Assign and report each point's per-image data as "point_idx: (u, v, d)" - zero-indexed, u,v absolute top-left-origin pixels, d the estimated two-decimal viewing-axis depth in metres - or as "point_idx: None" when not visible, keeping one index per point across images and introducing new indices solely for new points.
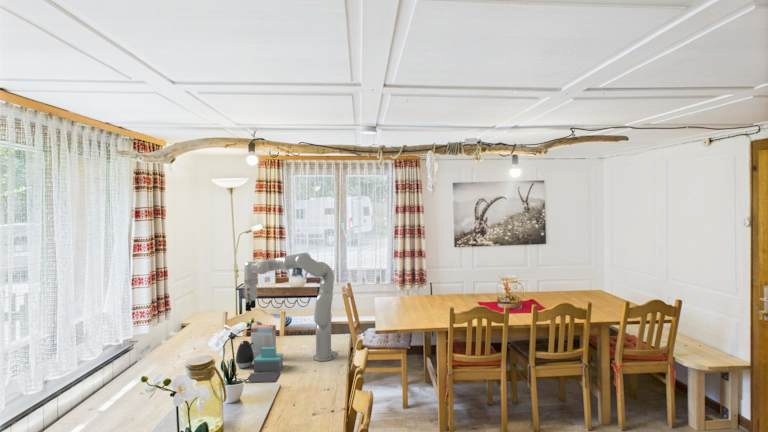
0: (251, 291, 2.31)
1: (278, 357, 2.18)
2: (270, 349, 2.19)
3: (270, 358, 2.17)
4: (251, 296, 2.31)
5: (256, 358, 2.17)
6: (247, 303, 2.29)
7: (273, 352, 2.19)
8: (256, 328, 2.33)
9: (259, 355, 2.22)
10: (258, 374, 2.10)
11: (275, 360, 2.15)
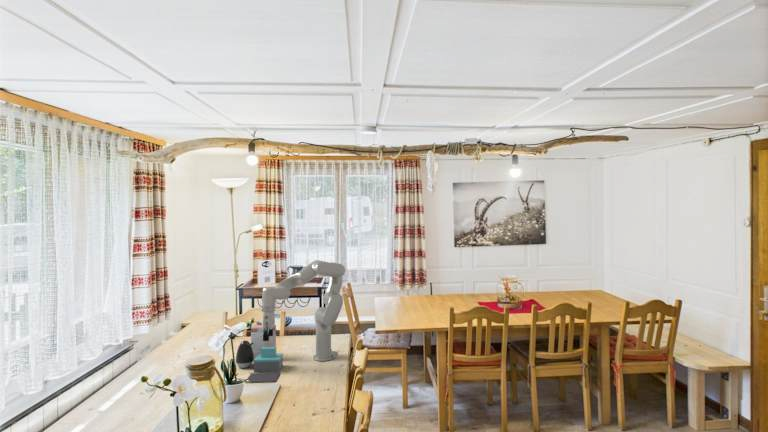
0: (269, 319, 2.15)
1: (278, 357, 2.18)
2: (270, 349, 2.19)
3: (270, 358, 2.17)
4: (269, 325, 2.15)
5: (256, 358, 2.17)
6: (265, 332, 2.13)
7: (273, 352, 2.19)
8: (256, 328, 2.33)
9: (259, 355, 2.22)
10: (258, 374, 2.10)
11: (275, 360, 2.15)
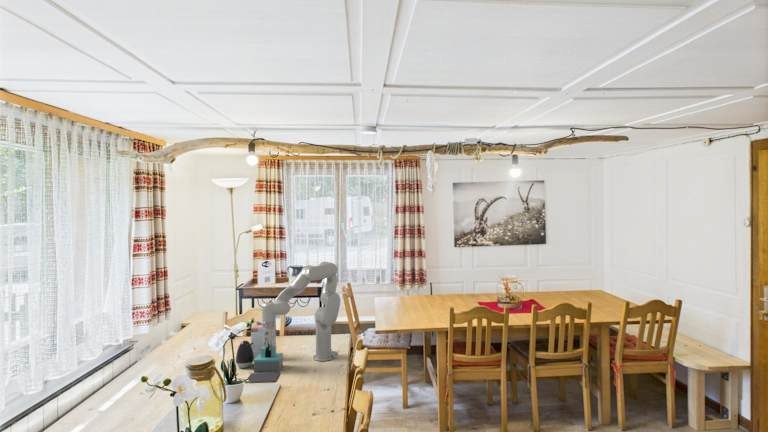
0: (270, 335, 2.15)
1: (278, 357, 2.18)
2: (270, 349, 2.19)
3: (270, 357, 2.17)
4: (270, 341, 2.15)
5: (256, 358, 2.17)
6: (267, 349, 2.16)
7: (273, 352, 2.19)
8: (256, 328, 2.33)
9: (258, 355, 2.22)
10: (258, 374, 2.10)
11: (275, 360, 2.15)
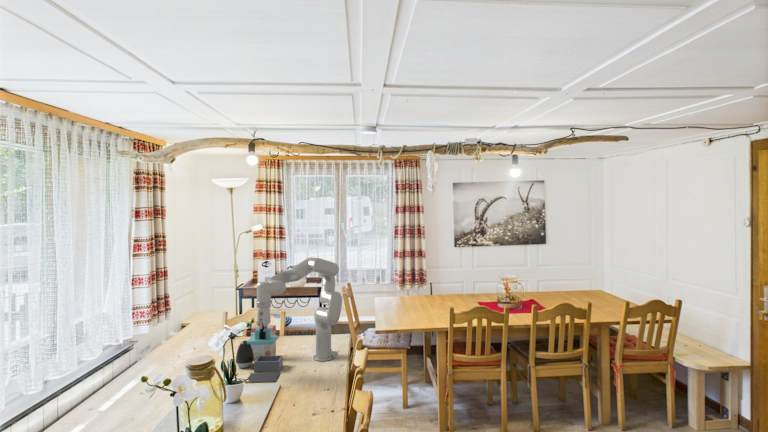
0: (264, 316, 2.04)
1: (273, 339, 2.06)
2: None
3: (264, 339, 2.05)
4: (264, 321, 2.03)
5: (249, 340, 2.05)
6: (261, 330, 2.04)
7: (267, 334, 2.07)
8: (256, 328, 2.33)
9: (252, 337, 2.10)
10: (258, 374, 2.10)
11: (269, 342, 2.03)
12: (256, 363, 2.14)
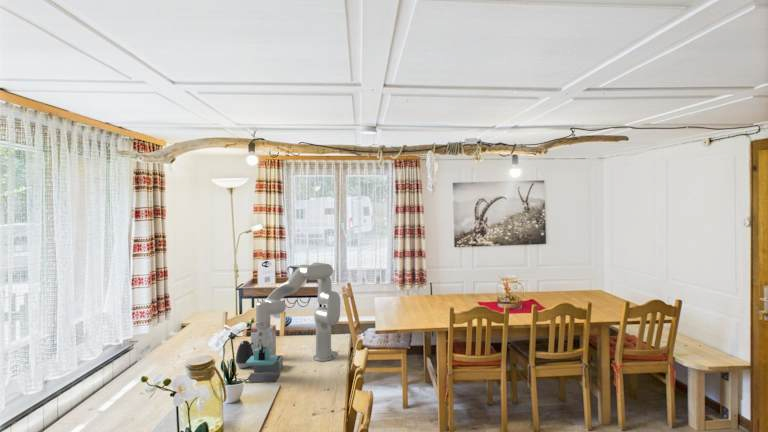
0: (264, 336, 2.02)
1: (272, 359, 2.05)
2: (264, 351, 2.05)
3: (263, 360, 2.04)
4: (264, 342, 2.02)
5: (249, 360, 2.03)
6: (260, 351, 2.03)
7: (267, 354, 2.05)
8: (256, 328, 2.33)
9: (251, 357, 2.08)
10: (258, 374, 2.10)
11: (269, 363, 2.02)
12: None
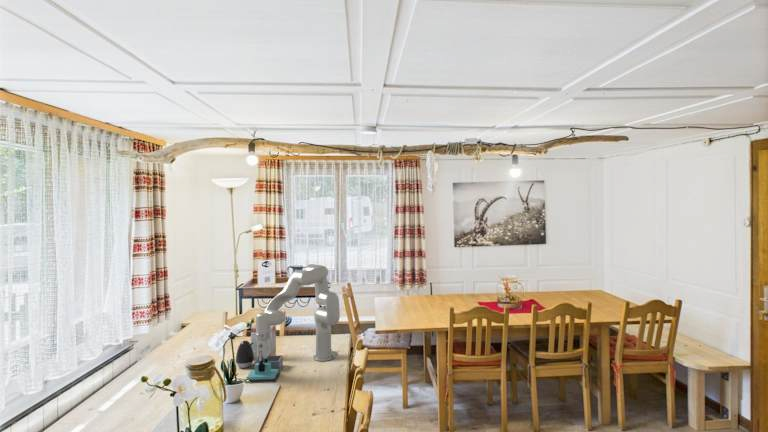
0: (264, 348, 2.02)
1: (273, 374, 2.05)
2: None
3: (264, 374, 2.04)
4: (264, 354, 2.02)
5: (249, 375, 2.03)
6: (260, 363, 2.02)
7: (267, 368, 2.06)
8: None
9: (252, 371, 2.08)
10: None
11: (269, 377, 2.02)
12: None
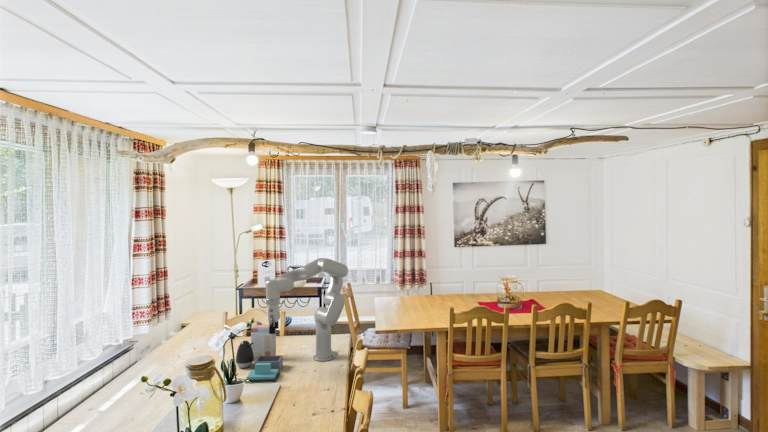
0: (274, 312, 2.12)
1: (273, 374, 2.05)
2: (264, 365, 2.05)
3: (264, 374, 2.04)
4: (275, 317, 2.12)
5: (249, 375, 2.03)
6: (271, 325, 2.10)
7: (267, 368, 2.06)
8: (256, 328, 2.33)
9: (252, 371, 2.08)
10: None
11: (269, 377, 2.02)
12: None
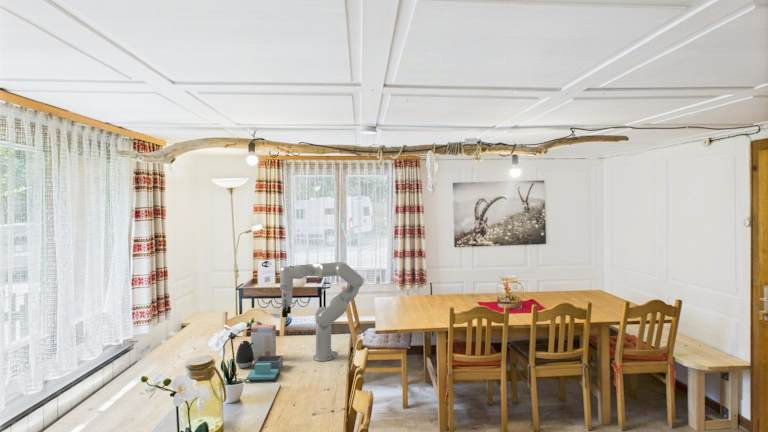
0: (288, 297, 2.27)
1: (273, 374, 2.05)
2: (264, 365, 2.05)
3: (264, 374, 2.04)
4: (288, 302, 2.27)
5: (249, 375, 2.03)
6: (284, 309, 2.25)
7: (267, 368, 2.06)
8: (256, 328, 2.33)
9: (252, 371, 2.08)
10: None
11: (269, 377, 2.02)
12: None
